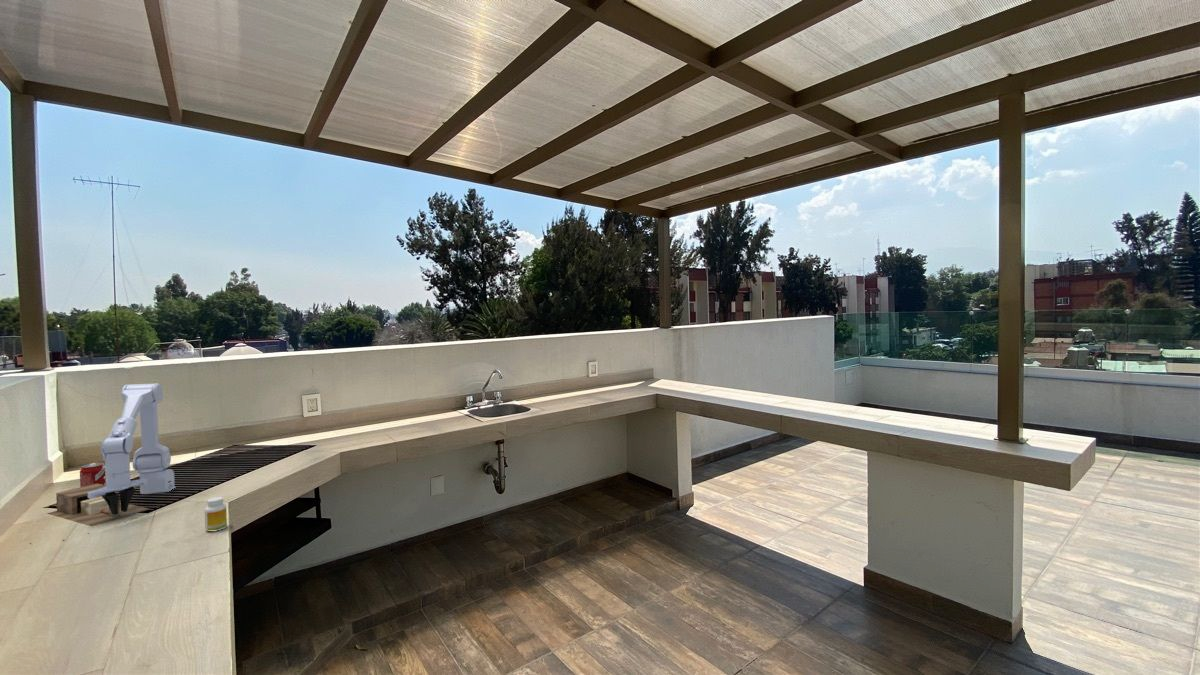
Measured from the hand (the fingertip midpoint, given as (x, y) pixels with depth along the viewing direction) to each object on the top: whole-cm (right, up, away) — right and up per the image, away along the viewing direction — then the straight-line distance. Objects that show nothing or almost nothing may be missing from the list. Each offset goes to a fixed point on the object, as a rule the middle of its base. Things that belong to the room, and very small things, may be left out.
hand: (119, 512), depth 160 cm
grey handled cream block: (-8, -1, +3) cm, 9 cm away
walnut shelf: (-12, -2, +5) cm, 13 cm away
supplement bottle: (+38, -3, -7) cm, 39 cm away
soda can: (-31, -2, +22) cm, 38 cm away
